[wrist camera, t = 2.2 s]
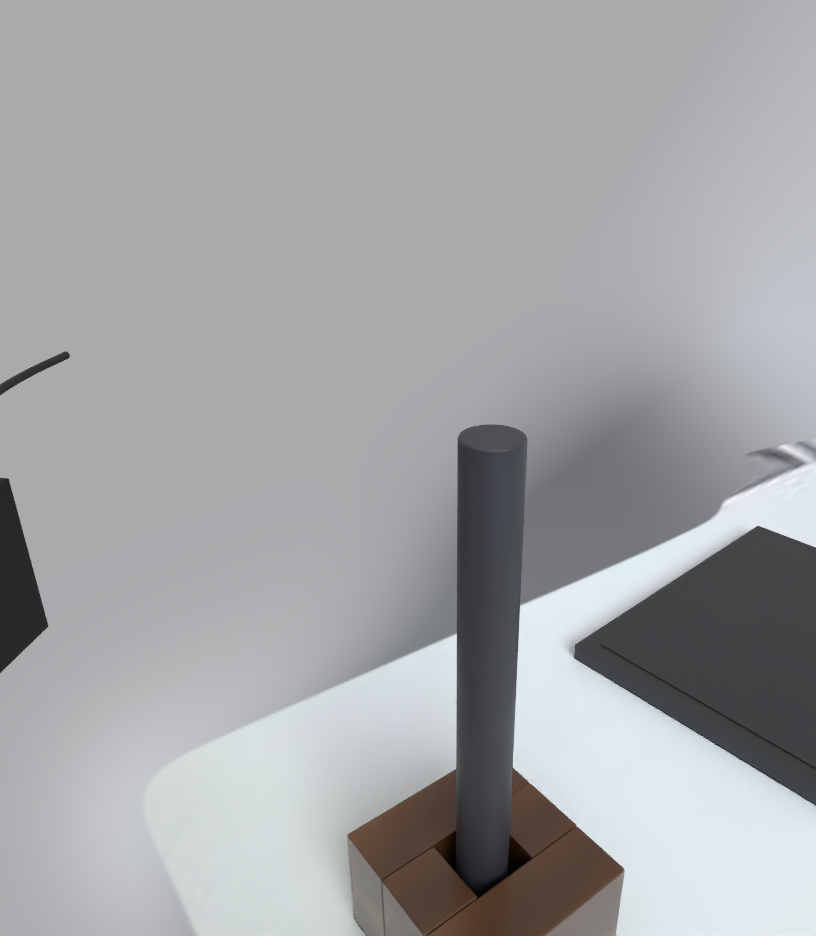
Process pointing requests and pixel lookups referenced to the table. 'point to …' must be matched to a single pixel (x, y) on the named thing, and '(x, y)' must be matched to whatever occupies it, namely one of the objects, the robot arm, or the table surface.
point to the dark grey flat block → (729, 653)
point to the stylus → (487, 645)
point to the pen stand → (451, 900)
